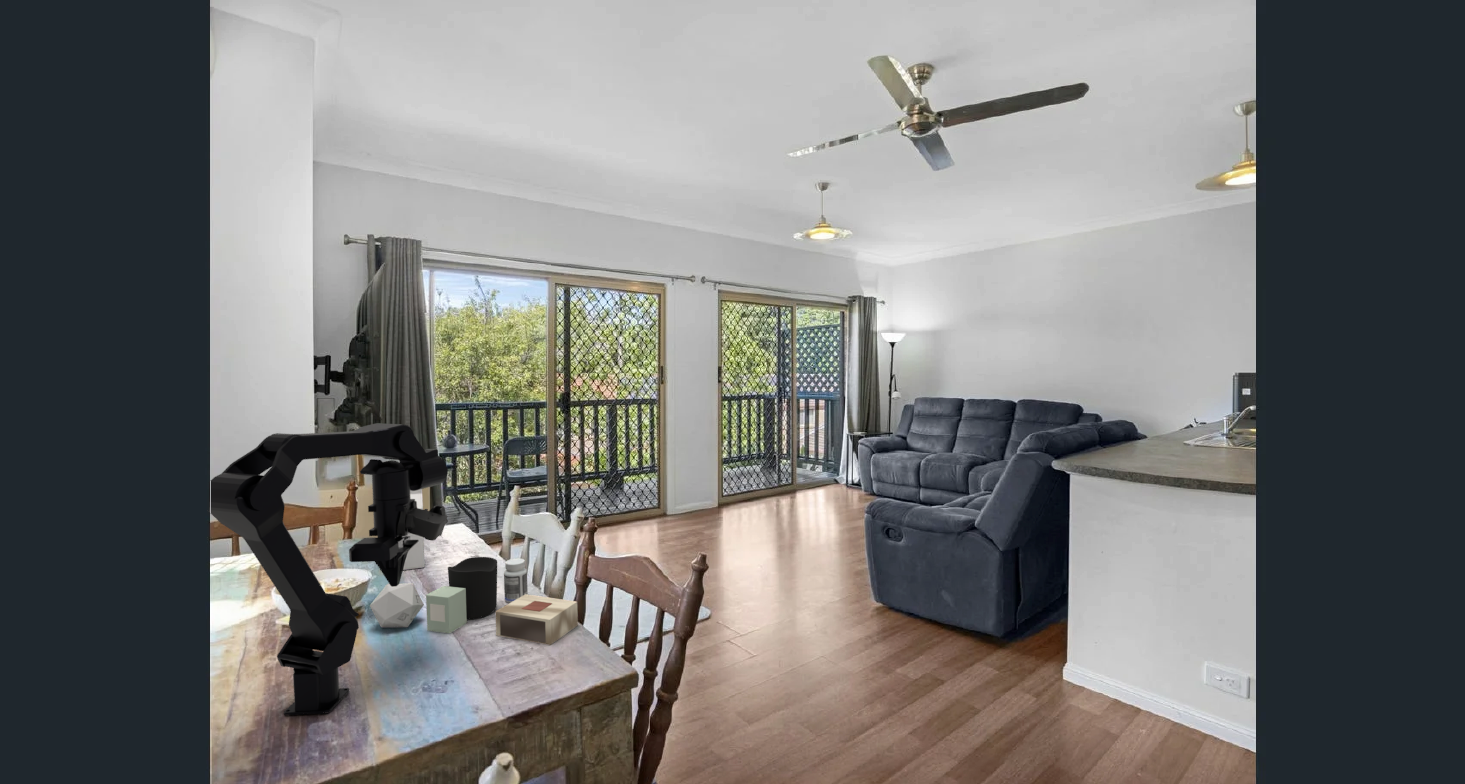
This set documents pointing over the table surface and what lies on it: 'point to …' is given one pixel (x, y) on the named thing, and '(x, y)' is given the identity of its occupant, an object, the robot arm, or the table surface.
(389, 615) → the die
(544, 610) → the birch block
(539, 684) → the table surface
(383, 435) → the robot arm
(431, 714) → the table surface
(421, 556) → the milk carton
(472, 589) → the pen holder
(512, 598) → the pill bottle
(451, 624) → the sage block
